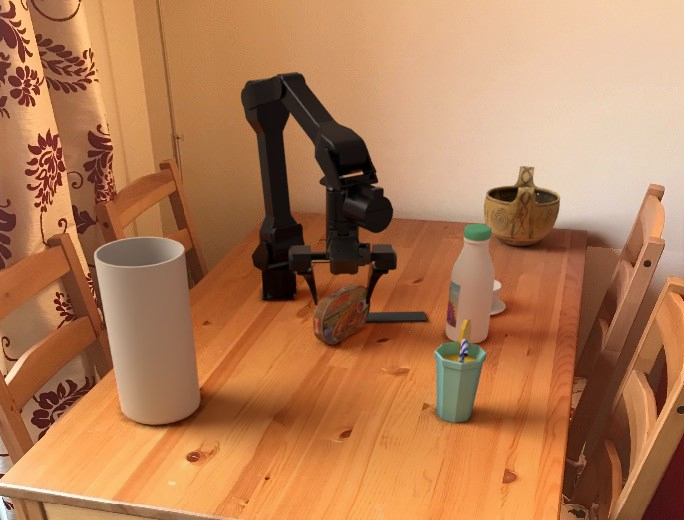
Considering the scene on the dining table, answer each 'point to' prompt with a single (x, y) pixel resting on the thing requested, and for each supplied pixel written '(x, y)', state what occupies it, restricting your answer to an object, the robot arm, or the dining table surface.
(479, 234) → the milk bottle
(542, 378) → the dining table surface
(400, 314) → the strip
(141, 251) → the cylinder vase
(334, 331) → the tin
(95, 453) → the dining table surface
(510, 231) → the ceramic bowl
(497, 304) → the teacup
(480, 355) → the cup
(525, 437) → the dining table surface
